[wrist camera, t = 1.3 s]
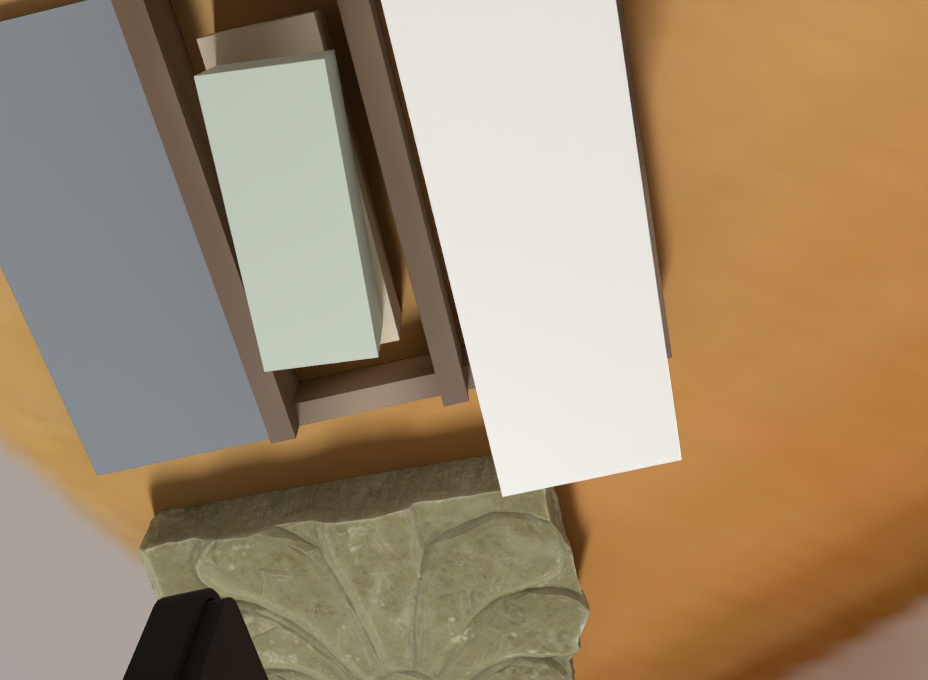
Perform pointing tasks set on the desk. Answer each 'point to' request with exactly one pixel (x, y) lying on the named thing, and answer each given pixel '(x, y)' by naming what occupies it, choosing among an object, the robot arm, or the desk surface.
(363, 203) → the offcut lower
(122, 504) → the desk surface
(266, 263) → the offcut upper
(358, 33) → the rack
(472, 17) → the off-white rectangular prism
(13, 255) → the mat
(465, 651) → the decorative tile
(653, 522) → the desk surface
